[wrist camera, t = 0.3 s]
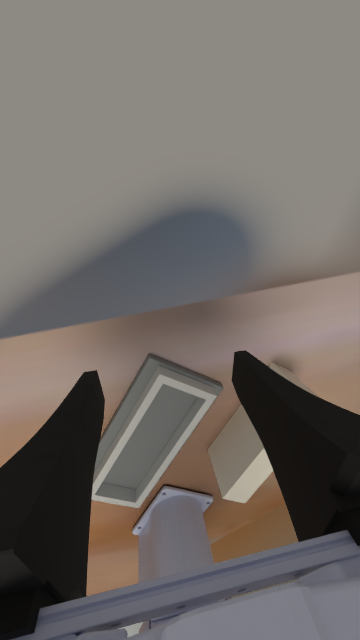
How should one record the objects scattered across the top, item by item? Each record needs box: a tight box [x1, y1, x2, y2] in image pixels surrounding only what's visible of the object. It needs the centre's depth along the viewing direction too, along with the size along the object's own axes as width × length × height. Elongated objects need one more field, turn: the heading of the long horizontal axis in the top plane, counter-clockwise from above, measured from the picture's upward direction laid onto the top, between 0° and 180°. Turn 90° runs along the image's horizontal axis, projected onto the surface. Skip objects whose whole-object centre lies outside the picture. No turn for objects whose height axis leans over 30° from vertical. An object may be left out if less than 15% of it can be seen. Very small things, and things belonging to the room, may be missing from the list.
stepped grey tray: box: [91, 354, 223, 508], centre depth 26 cm, size 18×9×2 cm, turn 150°
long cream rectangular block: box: [208, 362, 318, 503], centre depth 26 cm, size 14×3×6 cm, turn 150°
